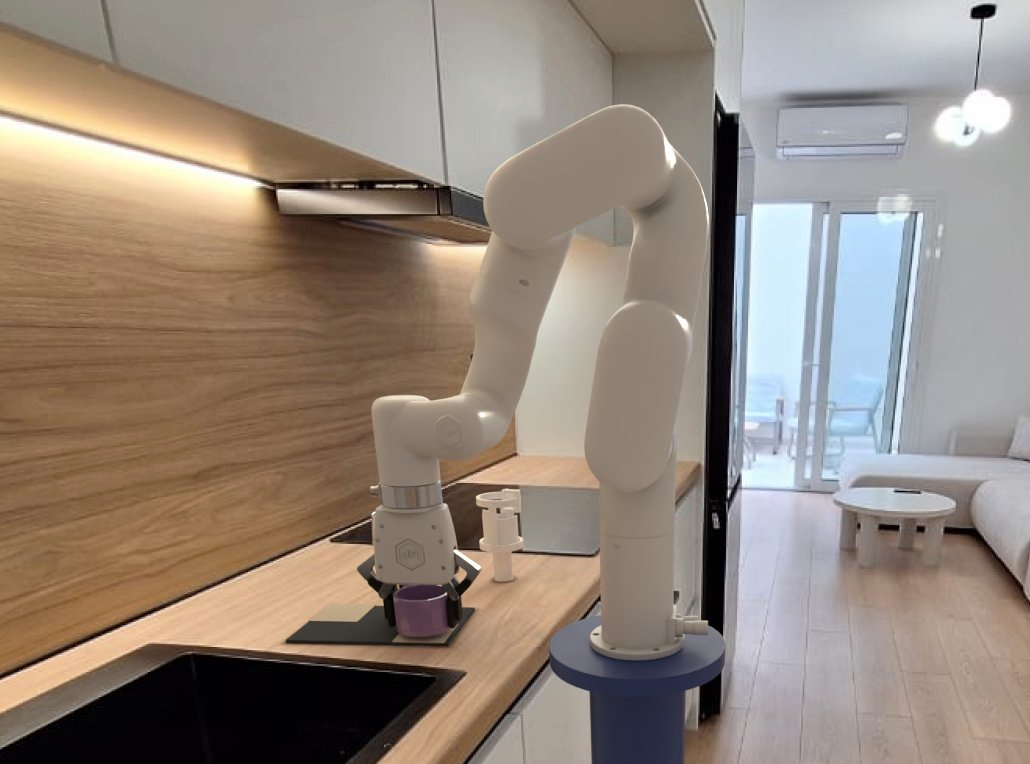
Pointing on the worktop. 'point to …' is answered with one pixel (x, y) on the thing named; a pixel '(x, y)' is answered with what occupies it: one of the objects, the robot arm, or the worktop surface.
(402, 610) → the dish
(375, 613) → the place mat
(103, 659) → the worktop surface
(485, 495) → the white tall plastic stand
